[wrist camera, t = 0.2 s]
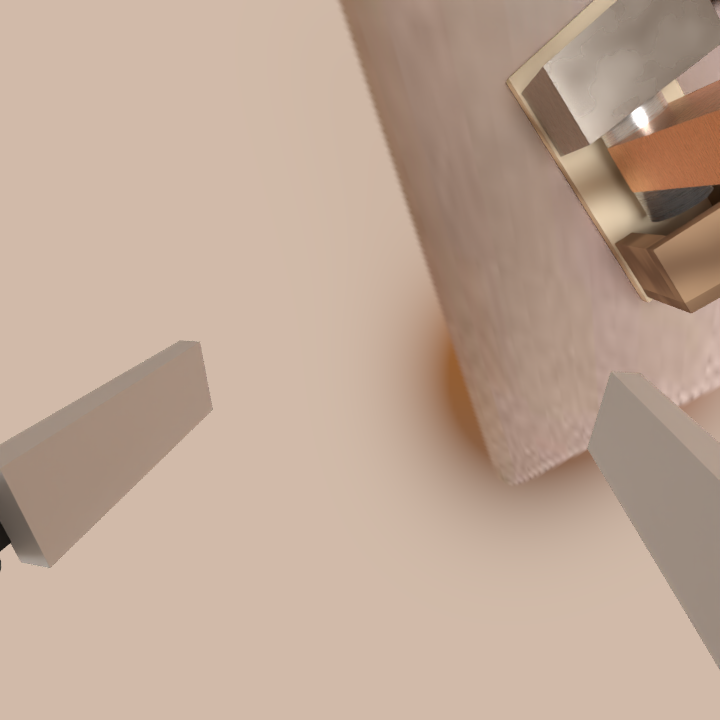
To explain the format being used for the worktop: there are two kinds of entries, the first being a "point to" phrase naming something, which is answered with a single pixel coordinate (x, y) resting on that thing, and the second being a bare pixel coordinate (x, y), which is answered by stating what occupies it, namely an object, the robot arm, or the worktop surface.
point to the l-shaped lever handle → (670, 151)
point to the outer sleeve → (618, 66)
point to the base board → (599, 158)
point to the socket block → (679, 260)
